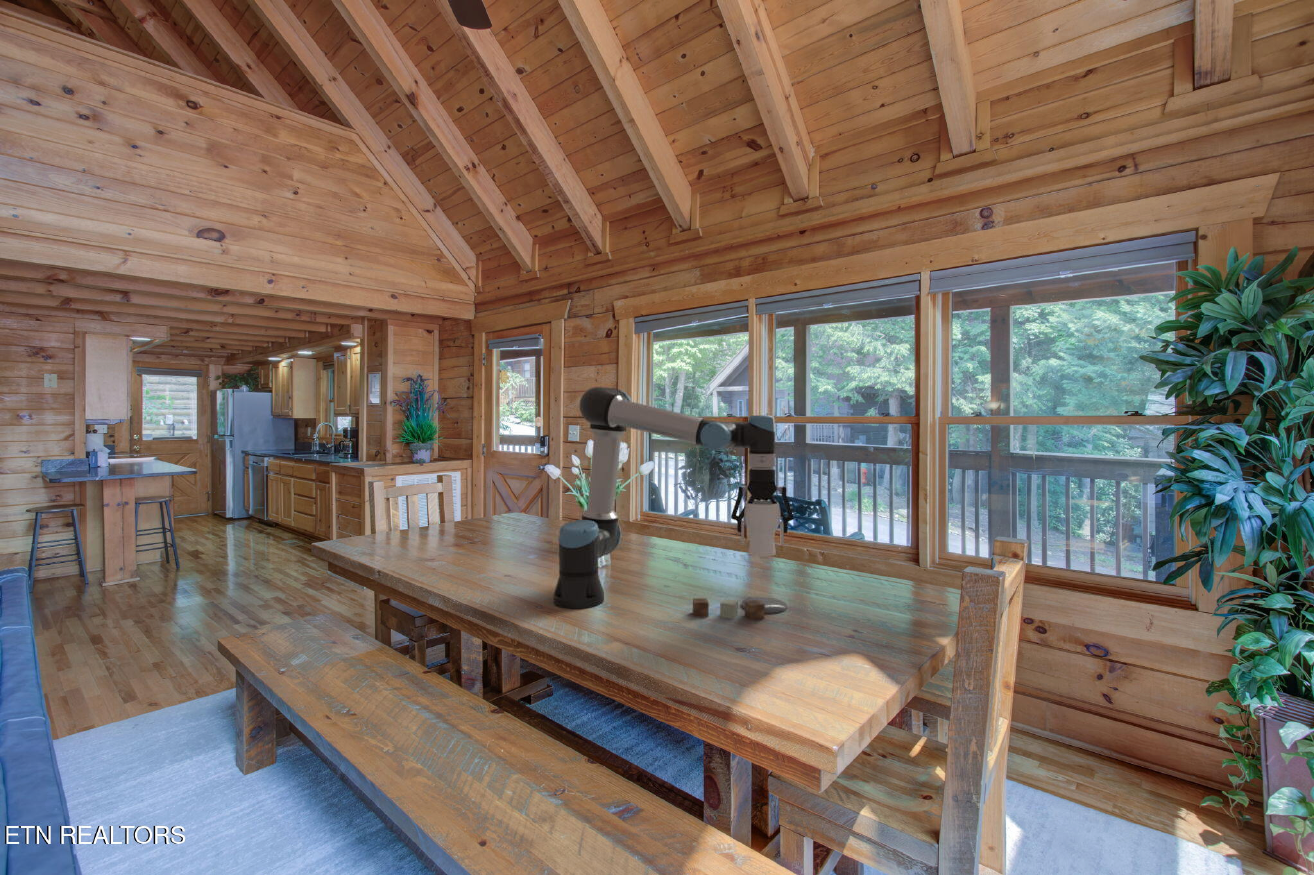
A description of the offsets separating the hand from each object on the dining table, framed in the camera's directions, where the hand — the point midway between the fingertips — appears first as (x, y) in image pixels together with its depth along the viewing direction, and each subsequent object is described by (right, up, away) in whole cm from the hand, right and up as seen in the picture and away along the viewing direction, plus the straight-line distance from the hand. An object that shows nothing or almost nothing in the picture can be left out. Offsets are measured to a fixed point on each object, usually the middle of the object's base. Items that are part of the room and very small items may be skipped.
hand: (762, 543), depth 171 cm
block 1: (-19, -19, -6) cm, 27 cm away
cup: (0, -3, 0) cm, 3 cm away
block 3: (-4, -19, -8) cm, 21 cm away
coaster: (+1, -18, +1) cm, 18 cm away
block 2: (-11, -19, -8) cm, 23 cm away
